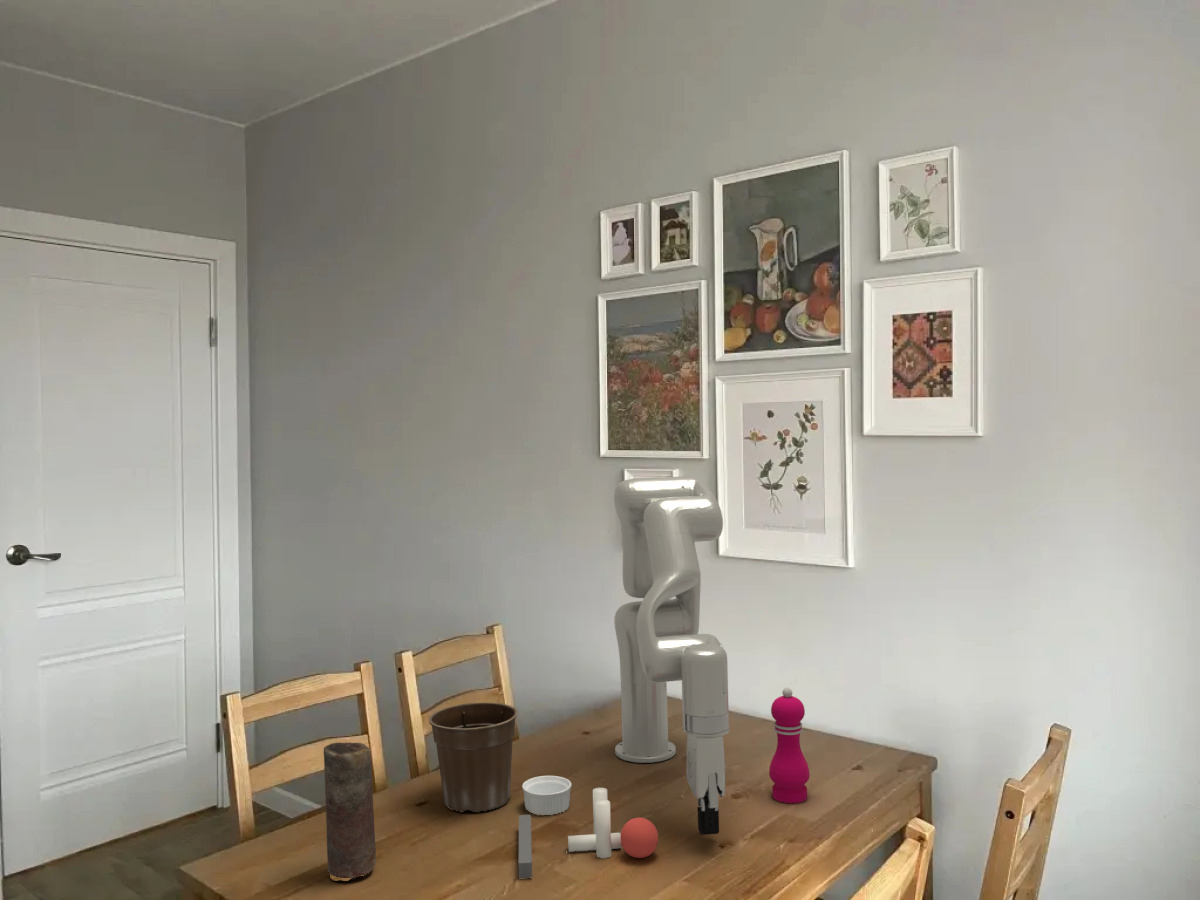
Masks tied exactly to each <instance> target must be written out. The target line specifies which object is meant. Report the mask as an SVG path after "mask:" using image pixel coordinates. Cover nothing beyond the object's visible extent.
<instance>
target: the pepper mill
mask: <svg viewBox="0 0 1200 900" xmlns="http://www.w3.org/2000/svg"><path fill="white" fill-rule="evenodd" d="M770 713H771V716H772V718H773V720H775V722H774V724H773V726H774V728H773V731H774V732H775V733H776V737H777V745H776V749H775V752H774V754H773V757H772V758H771V761H770V764H769V772H768V775H769V778H770V780H771V781H772V782H773V783H774V784H773V785H772V787H771V790H772V794H771V796H772V798H773V799H774V800H776V801H778V802H780V803H783V802H784V804H799V803H802V802H803V803H804V801H806V800H807V799H808V787H807V785H806V784H807V783H808V781H809V779H810V776H811V775H810V768H809V764H808V762H807V760H806V758H805V756H804V753H803V750H802V747H801V742H800V737H801V736H800V735H801V733H802V732H803V728H802V727H803V723H802V720H803V719H804V717H805V715H806V713H805V706H804V703H803V702H802V701H801V700H800V699H799V698H798V697H796V696H793V690H792V689H791V688H790V687H785V688H784V689H783V690H782V695H781V696H778V697H776V698H775V699H774V700H773V702H772V704H771V707H770Z"/></svg>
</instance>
